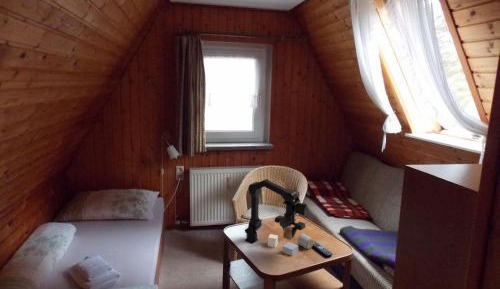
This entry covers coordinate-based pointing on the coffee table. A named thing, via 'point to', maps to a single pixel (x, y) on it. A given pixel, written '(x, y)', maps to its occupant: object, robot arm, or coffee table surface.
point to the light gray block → (290, 248)
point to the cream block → (272, 240)
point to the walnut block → (288, 233)
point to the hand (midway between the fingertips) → (289, 235)
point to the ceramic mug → (305, 241)
